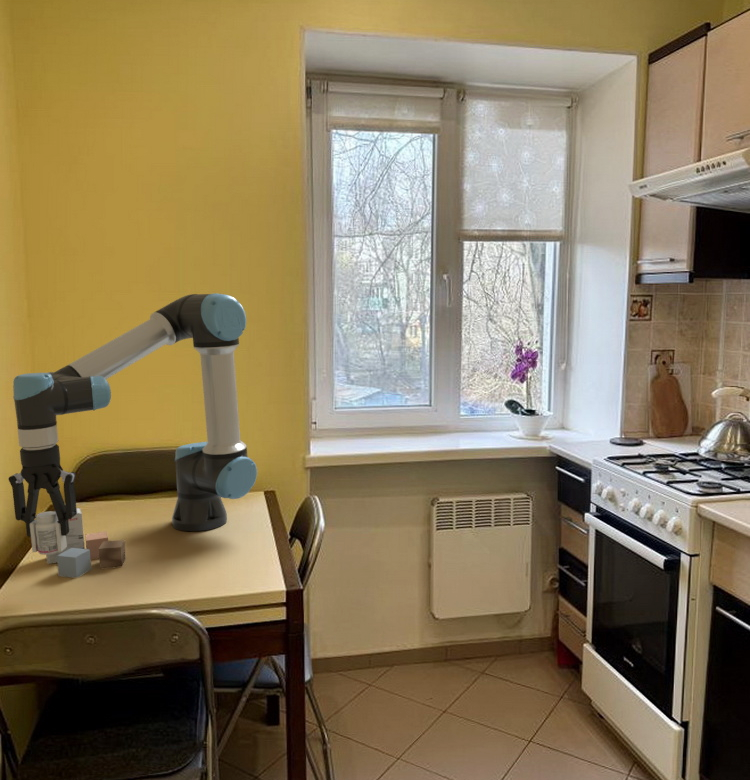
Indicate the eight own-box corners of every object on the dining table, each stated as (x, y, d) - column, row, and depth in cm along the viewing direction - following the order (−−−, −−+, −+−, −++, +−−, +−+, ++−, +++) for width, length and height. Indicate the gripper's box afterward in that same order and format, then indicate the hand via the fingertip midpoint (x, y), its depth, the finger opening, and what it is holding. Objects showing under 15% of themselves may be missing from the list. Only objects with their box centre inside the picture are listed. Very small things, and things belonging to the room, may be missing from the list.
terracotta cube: (107, 549, 171) (106, 531, 170) (109, 556, 167) (108, 537, 166) (86, 553, 169) (85, 534, 168) (87, 560, 164) (86, 540, 164)
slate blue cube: (91, 569, 159) (89, 549, 158) (77, 578, 154) (75, 557, 153) (73, 567, 160) (71, 547, 159) (58, 576, 155) (57, 555, 154)
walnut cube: (125, 559, 165) (124, 539, 164) (122, 567, 160) (120, 547, 159) (104, 560, 164) (102, 541, 163) (99, 568, 159) (98, 548, 158)
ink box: (83, 551, 170) (80, 507, 168) (85, 558, 165) (82, 512, 164) (46, 557, 166) (42, 512, 164) (47, 564, 161) (43, 518, 160)
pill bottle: (43, 547, 148) (39, 510, 147) (65, 546, 149) (61, 509, 147) (34, 555, 143) (30, 518, 142) (57, 554, 144) (53, 517, 143)
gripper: (88, 440, 146) (97, 541, 150) (6, 442, 146) (17, 544, 150) (73, 448, 139) (83, 555, 142) (-13, 451, 139) (-1, 557, 142)
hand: (49, 549), depth 146 cm, fingers closed on pill bottle, 5 cm apart
